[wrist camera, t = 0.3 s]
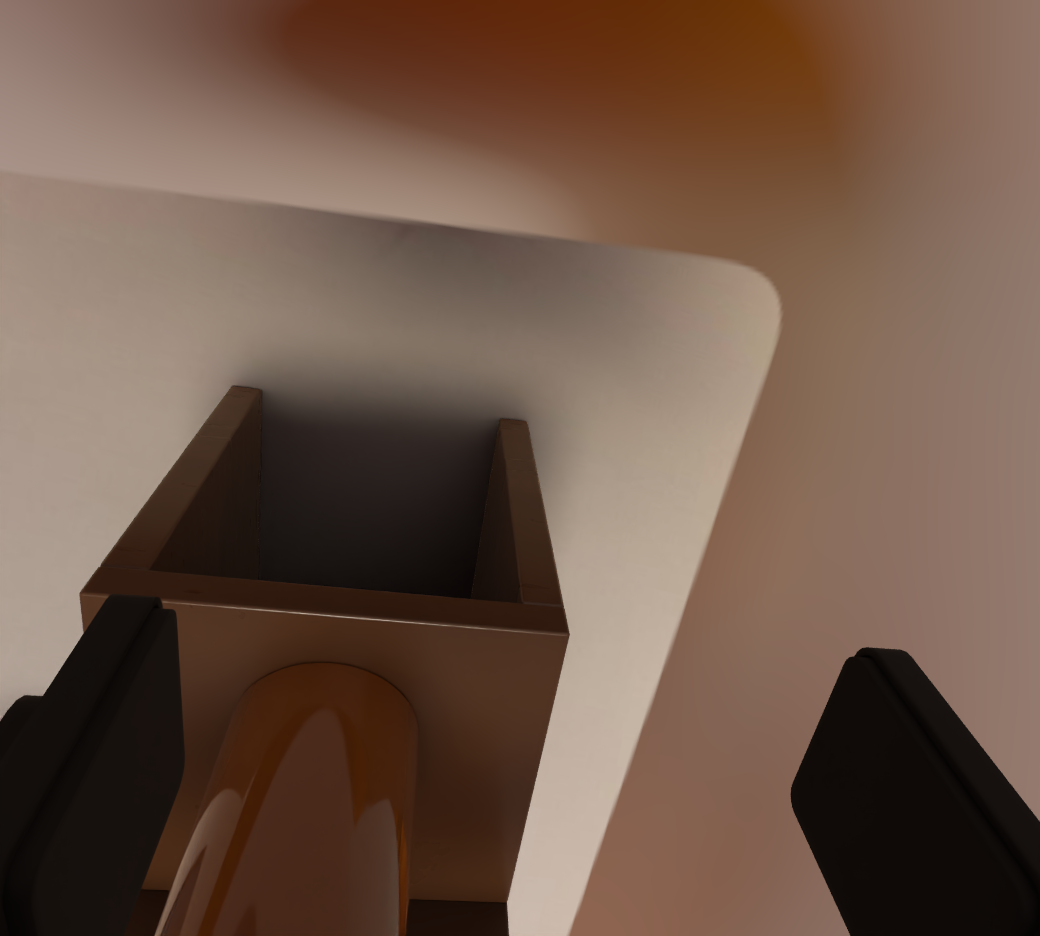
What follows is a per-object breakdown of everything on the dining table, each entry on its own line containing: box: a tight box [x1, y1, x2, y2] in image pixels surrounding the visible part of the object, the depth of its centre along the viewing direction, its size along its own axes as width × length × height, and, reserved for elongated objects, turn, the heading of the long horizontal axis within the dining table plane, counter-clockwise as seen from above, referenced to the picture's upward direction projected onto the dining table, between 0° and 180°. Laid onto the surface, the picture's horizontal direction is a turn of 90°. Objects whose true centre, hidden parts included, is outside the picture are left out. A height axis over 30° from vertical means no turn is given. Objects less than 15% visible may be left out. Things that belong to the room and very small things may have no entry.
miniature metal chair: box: [80, 386, 570, 936], centre depth 25 cm, size 12×12×22 cm
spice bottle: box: [153, 662, 419, 936], centre depth 16 cm, size 5×5×10 cm
